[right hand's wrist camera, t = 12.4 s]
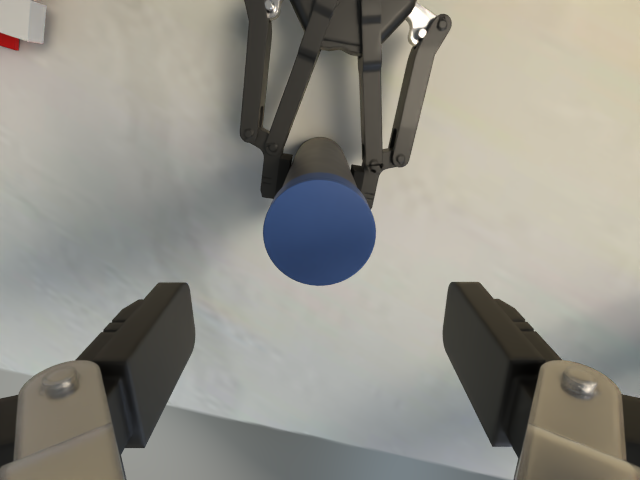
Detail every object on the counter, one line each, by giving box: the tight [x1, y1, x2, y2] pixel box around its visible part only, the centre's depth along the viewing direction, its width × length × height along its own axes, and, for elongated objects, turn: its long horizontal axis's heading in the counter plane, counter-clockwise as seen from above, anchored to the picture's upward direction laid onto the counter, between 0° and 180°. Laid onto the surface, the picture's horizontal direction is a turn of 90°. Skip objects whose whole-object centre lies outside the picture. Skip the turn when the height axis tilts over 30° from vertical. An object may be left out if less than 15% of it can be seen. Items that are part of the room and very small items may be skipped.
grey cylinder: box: [283, 137, 357, 187], centre depth 27 cm, size 5×5×19 cm
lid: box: [263, 172, 376, 286], centre depth 18 cm, size 5×5×2 cm
